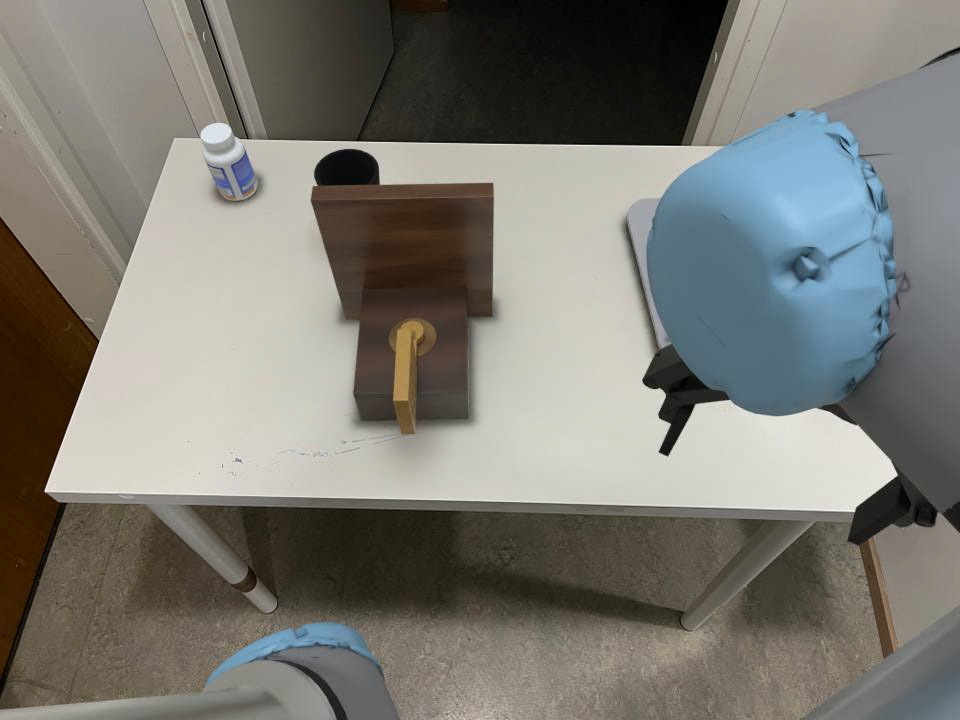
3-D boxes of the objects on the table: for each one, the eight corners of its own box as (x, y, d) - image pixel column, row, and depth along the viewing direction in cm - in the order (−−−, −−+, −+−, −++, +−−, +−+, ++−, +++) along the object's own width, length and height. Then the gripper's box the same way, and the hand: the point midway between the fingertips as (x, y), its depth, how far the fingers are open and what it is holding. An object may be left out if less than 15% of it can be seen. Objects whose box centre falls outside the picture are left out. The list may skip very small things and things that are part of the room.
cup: (333, 220, 93) (314, 150, 82) (389, 216, 93) (377, 145, 83) (332, 264, 88) (313, 196, 78) (391, 259, 89) (379, 190, 79)
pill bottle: (255, 171, 98) (234, 114, 90) (261, 197, 95) (240, 140, 87) (217, 180, 97) (192, 123, 89) (222, 206, 94) (196, 150, 86)
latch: (421, 434, 68) (414, 400, 62) (395, 435, 68) (386, 400, 62) (424, 325, 75) (419, 285, 69) (401, 326, 75) (393, 285, 69)
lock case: (495, 418, 76) (498, 312, 59) (335, 421, 76) (291, 316, 59) (492, 303, 85) (493, 182, 68) (347, 306, 85) (312, 185, 68)
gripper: (1240, 350, 29) (952, 518, 47) (686, 158, 36) (618, 370, 54) (1248, 495, 26) (934, 618, 44) (631, 254, 32) (578, 446, 50)
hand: (759, 481), depth 49 cm, fingers open, 13 cm apart
